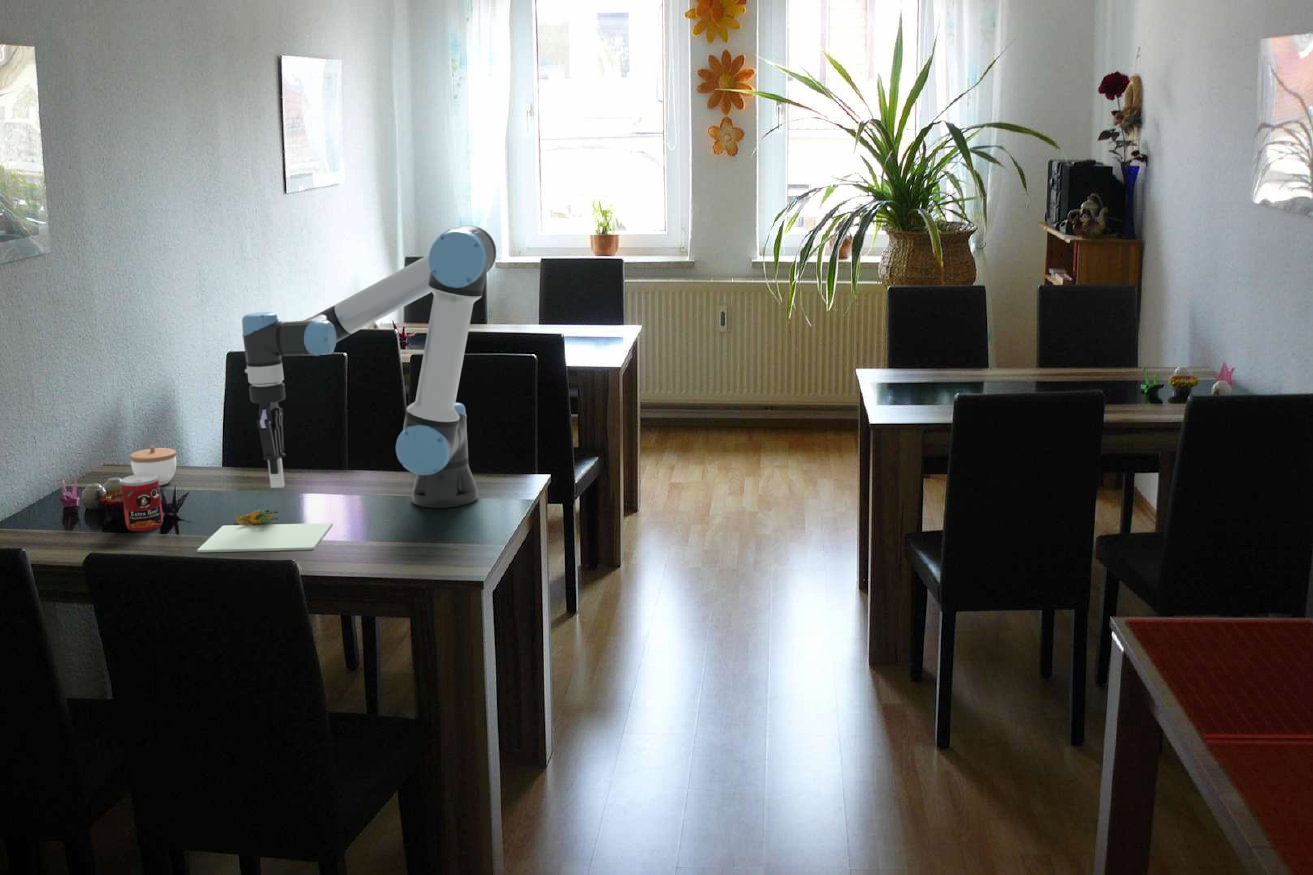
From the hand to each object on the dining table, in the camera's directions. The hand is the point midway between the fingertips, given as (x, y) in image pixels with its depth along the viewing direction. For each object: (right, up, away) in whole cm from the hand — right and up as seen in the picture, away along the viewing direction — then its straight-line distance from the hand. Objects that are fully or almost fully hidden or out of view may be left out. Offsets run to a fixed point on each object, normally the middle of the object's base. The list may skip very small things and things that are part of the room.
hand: (277, 486), depth 287 cm
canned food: (-28, -9, -4) cm, 30 cm away
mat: (+2, -10, -14) cm, 18 cm away
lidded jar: (-40, -1, +32) cm, 51 cm away
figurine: (-1, -6, -1) cm, 6 cm away
